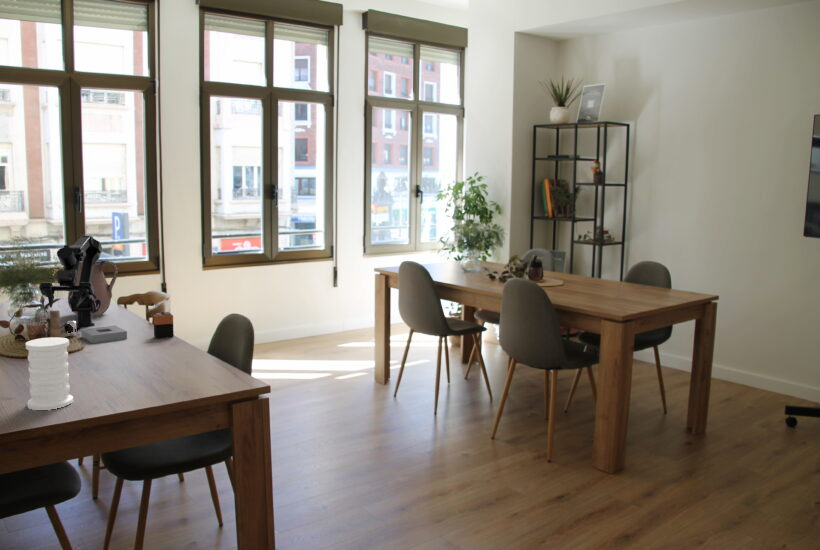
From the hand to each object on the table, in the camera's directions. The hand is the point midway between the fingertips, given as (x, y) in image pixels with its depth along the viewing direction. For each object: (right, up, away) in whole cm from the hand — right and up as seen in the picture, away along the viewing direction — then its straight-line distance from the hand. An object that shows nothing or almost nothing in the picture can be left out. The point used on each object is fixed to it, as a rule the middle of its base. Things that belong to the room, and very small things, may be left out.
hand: (63, 307), depth 271 cm
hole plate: (+13, -12, +7) cm, 19 cm away
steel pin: (-1, -12, +9) cm, 15 cm away
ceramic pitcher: (-10, -6, +49) cm, 51 cm away
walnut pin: (0, -14, -6) cm, 15 cm away
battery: (+35, -13, +11) cm, 39 cm away
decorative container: (+31, -24, -71) cm, 82 cm away
